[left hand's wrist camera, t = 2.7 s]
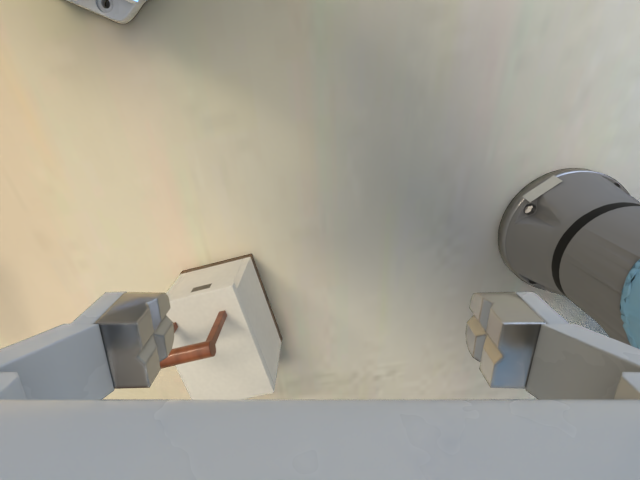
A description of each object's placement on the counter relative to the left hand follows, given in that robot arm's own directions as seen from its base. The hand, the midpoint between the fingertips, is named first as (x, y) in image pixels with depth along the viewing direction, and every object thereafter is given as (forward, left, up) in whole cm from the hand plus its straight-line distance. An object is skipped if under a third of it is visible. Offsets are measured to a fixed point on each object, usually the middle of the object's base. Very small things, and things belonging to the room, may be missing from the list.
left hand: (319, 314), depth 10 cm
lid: (-7, -23, -27) cm, 36 cm away
